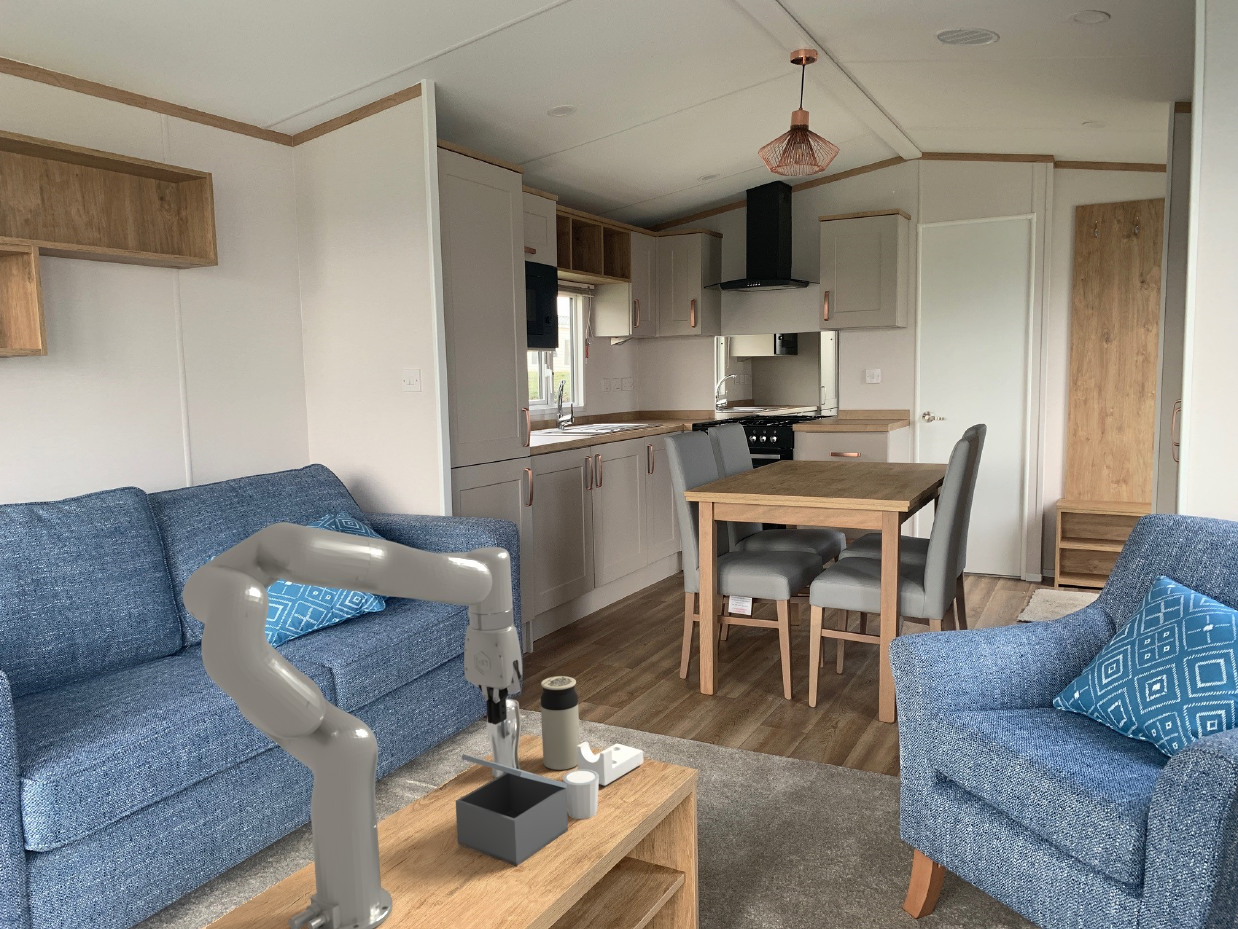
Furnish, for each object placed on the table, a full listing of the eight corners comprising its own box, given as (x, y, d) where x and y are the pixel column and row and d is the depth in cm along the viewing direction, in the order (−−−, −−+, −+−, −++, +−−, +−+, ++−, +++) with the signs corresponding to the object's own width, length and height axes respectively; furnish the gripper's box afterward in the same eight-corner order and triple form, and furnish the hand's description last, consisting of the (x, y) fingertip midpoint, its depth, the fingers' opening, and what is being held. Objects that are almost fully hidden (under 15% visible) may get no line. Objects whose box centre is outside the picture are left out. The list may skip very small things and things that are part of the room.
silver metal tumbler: (509, 763, 188) (506, 696, 187) (529, 772, 183) (526, 703, 182) (483, 774, 183) (479, 705, 182) (503, 784, 178) (499, 713, 177)
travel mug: (587, 759, 189) (584, 678, 187) (567, 774, 182) (564, 690, 181) (556, 752, 193) (553, 673, 191) (536, 767, 186) (532, 685, 184)
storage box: (516, 866, 147) (514, 821, 147) (457, 844, 155) (455, 800, 155) (568, 830, 159) (566, 788, 158) (510, 811, 167) (508, 771, 166)
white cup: (604, 804, 168) (603, 769, 167) (595, 822, 161) (593, 785, 161) (570, 802, 170) (568, 767, 169) (559, 819, 163) (558, 783, 162)
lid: (520, 776, 147) (521, 771, 148) (461, 758, 155) (462, 754, 156) (566, 788, 158) (567, 783, 158) (508, 771, 166) (509, 766, 166)
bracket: (605, 790, 175) (603, 753, 174) (578, 781, 179) (576, 745, 178) (643, 767, 185) (642, 732, 184) (617, 759, 189) (616, 725, 189)
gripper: (445, 619, 152) (451, 720, 154) (509, 630, 144) (515, 737, 145) (475, 609, 158) (481, 706, 160) (538, 619, 150) (543, 722, 152)
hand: (497, 721), depth 153 cm, fingers closed
